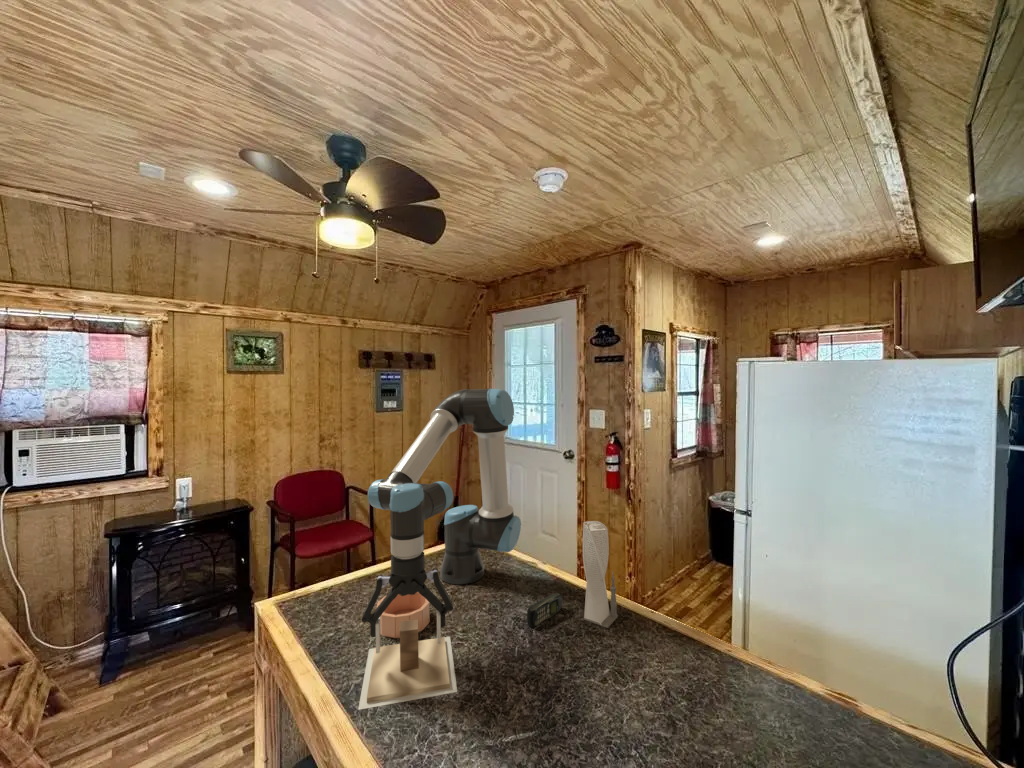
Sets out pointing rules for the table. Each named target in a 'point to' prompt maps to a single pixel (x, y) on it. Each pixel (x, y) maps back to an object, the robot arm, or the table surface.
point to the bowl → (404, 614)
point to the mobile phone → (544, 609)
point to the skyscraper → (597, 575)
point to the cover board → (407, 679)
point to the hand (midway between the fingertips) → (409, 645)
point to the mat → (365, 705)
